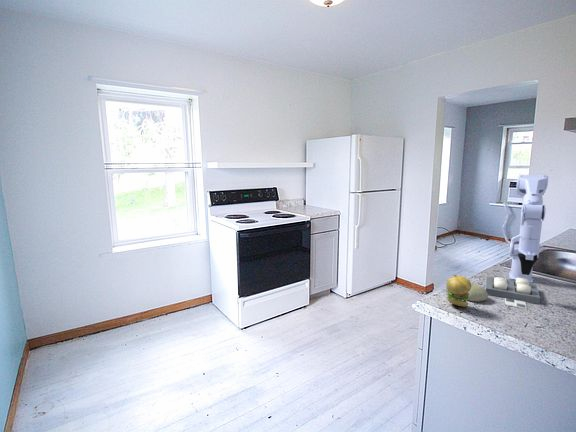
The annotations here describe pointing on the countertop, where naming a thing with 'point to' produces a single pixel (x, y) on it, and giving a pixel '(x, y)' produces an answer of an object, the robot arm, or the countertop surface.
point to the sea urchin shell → (477, 293)
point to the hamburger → (458, 290)
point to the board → (513, 291)
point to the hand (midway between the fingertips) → (525, 274)
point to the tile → (515, 303)
